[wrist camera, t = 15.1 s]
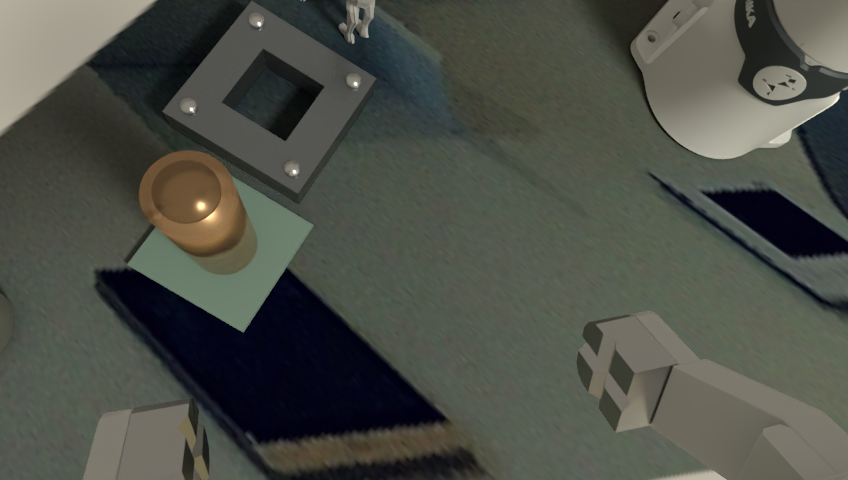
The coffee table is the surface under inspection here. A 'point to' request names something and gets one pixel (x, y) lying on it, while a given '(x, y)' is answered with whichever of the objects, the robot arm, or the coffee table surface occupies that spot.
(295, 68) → the housing
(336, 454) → the coffee table surface
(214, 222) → the copper plug
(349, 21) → the human figurine
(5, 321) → the plastic bottle
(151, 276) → the mat
